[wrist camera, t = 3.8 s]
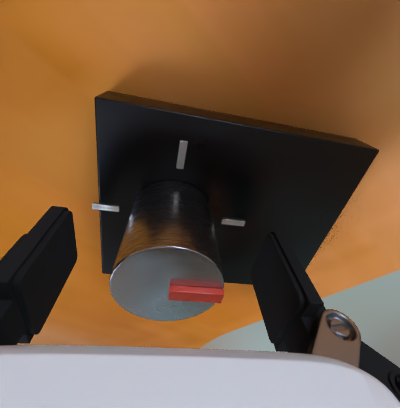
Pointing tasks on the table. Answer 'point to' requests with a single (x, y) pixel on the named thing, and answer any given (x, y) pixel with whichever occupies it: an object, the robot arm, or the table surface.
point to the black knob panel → (224, 175)
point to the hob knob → (168, 255)
